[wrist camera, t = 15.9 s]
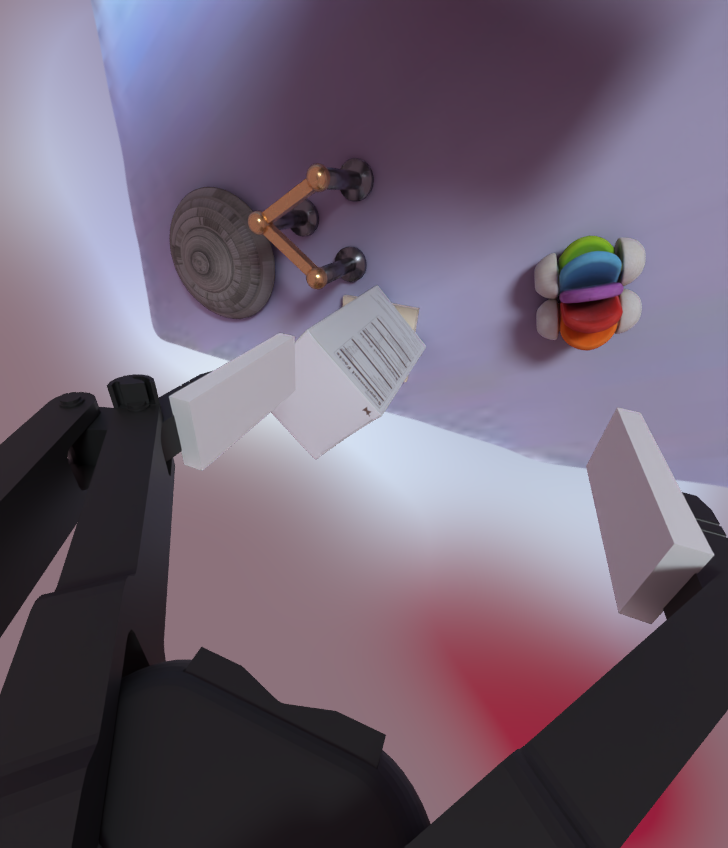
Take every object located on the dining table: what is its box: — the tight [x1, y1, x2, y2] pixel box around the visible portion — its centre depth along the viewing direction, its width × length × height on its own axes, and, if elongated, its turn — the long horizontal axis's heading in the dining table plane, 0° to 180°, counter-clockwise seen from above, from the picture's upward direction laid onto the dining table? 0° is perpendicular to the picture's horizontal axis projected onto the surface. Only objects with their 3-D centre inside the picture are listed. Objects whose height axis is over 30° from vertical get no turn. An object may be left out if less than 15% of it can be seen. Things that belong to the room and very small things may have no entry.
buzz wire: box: [248, 159, 373, 289], centre depth 38 cm, size 12×10×10 cm
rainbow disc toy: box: [534, 236, 645, 350], centre depth 34 cm, size 8×10×7 cm
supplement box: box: [271, 285, 426, 459], centre depth 39 cm, size 10×9×17 cm
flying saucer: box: [170, 187, 275, 319], centre depth 46 cm, size 15×15×6 cm
